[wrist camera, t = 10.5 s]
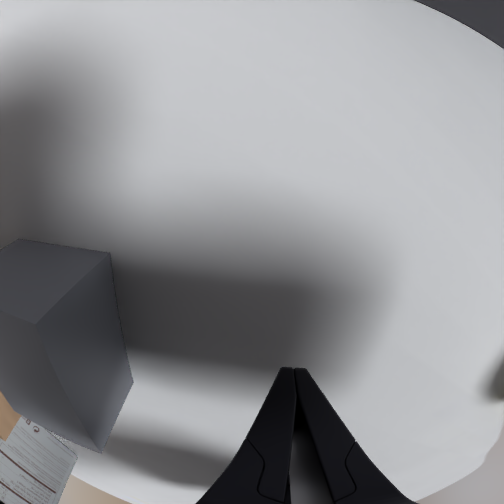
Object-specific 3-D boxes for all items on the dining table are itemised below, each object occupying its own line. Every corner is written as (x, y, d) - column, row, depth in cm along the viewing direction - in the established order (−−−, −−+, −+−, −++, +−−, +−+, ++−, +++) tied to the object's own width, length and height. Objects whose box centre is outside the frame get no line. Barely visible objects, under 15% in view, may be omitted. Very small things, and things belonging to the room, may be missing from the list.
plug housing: (111, 251, 9) (35, 324, 5) (134, 380, 12) (101, 453, 8) (20, 237, 9) (-50, 285, 5) (54, 354, 12) (13, 410, 8)
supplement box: (47, 450, 19) (10, 532, 8) (-3, 404, 17) (-52, 486, 5) (81, 457, 18) (40, 558, 6) (20, 403, 15) (-39, 510, 4)
